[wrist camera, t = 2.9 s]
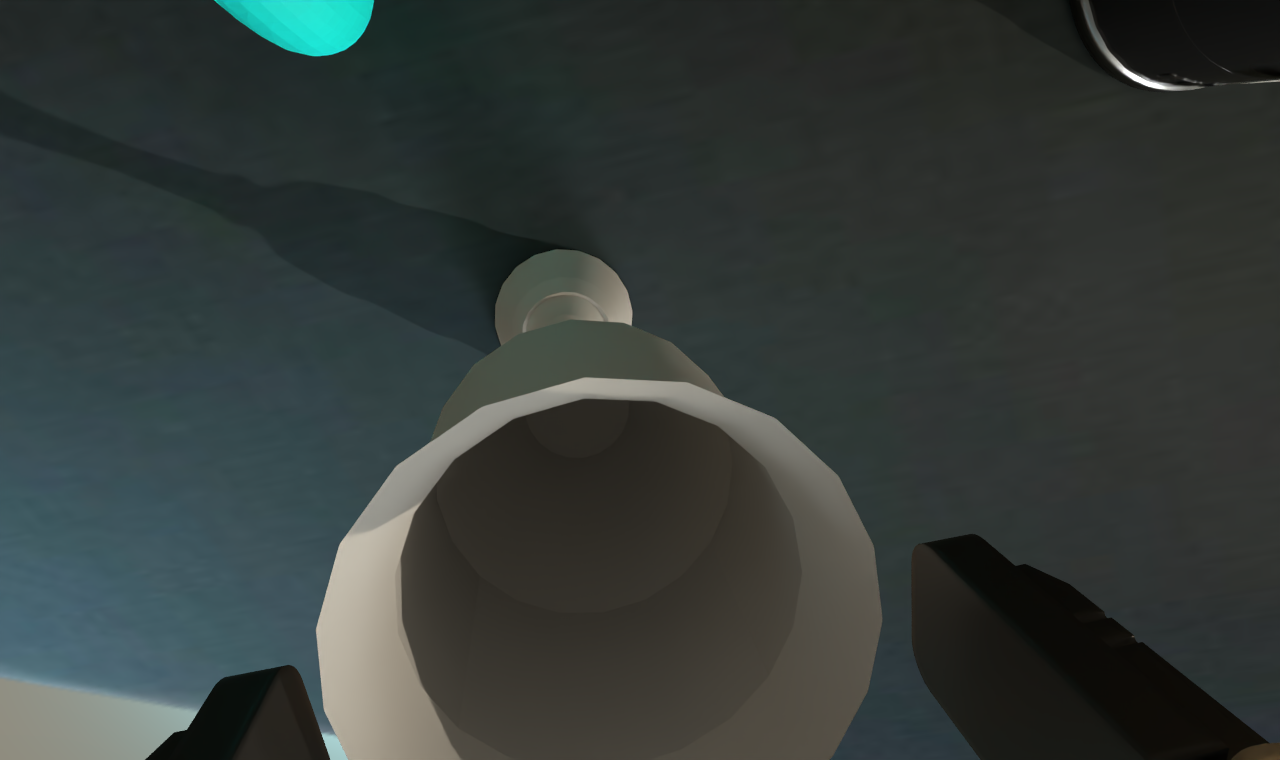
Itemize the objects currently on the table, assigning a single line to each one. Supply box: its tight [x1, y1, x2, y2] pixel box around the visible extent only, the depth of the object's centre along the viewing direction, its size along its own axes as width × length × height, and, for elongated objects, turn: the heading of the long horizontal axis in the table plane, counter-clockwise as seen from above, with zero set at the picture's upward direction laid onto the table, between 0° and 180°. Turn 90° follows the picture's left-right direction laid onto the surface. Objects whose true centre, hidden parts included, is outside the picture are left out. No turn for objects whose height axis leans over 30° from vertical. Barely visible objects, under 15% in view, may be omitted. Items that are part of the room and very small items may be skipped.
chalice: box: [316, 249, 882, 760], centre depth 17 cm, size 7×7×18 cm
